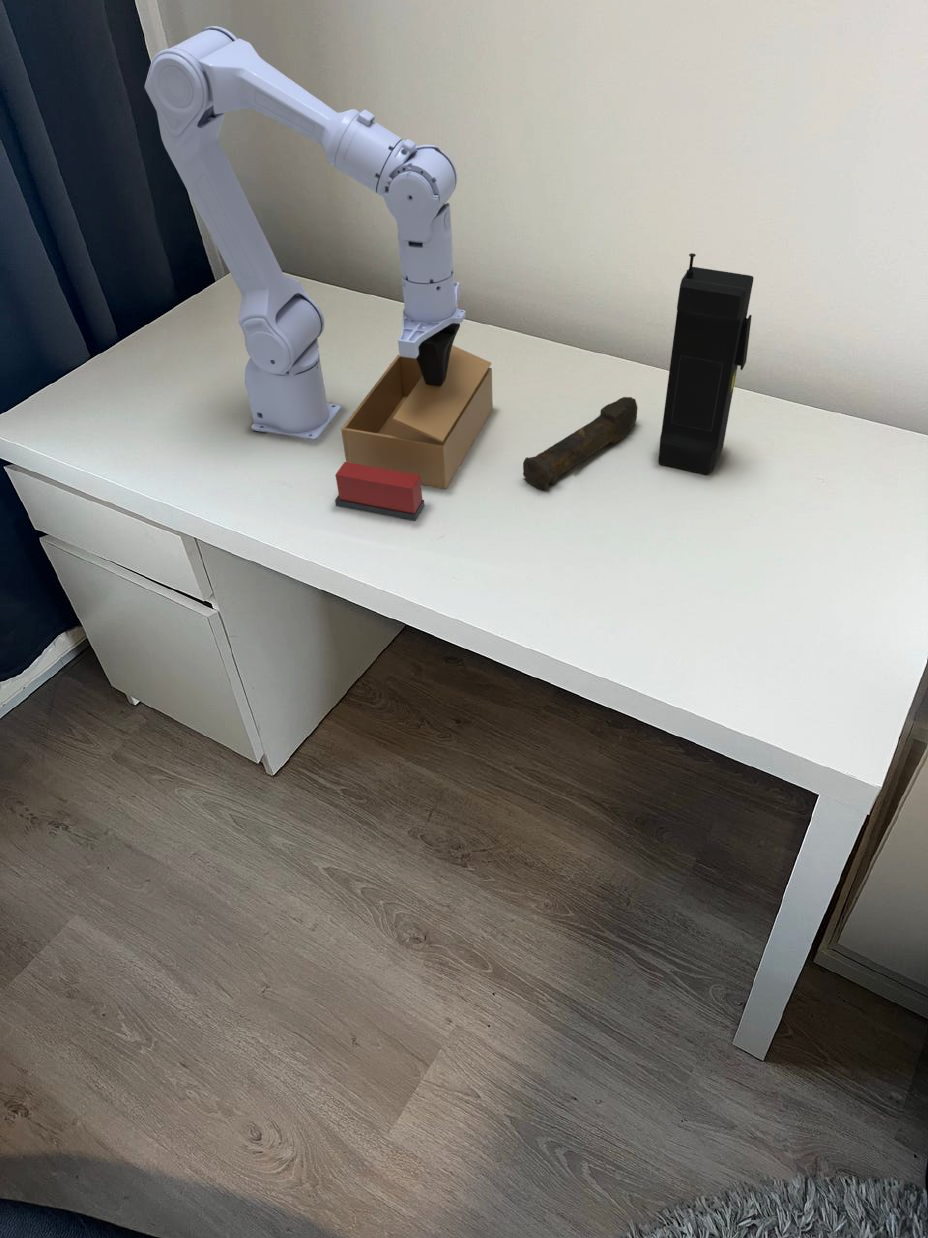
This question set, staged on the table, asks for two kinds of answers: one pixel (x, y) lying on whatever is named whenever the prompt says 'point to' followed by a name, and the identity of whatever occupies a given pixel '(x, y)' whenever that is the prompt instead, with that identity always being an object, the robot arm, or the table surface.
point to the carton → (404, 448)
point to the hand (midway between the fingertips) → (435, 382)
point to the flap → (443, 396)
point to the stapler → (379, 491)
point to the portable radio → (704, 366)
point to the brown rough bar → (581, 443)
